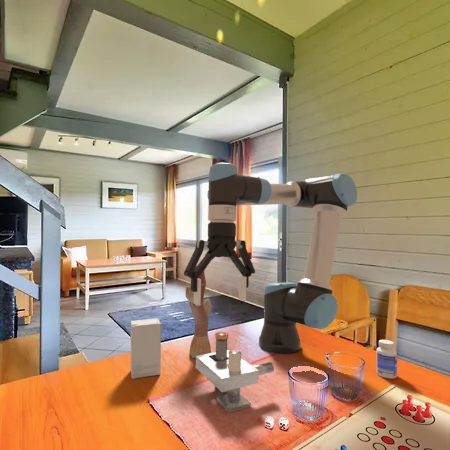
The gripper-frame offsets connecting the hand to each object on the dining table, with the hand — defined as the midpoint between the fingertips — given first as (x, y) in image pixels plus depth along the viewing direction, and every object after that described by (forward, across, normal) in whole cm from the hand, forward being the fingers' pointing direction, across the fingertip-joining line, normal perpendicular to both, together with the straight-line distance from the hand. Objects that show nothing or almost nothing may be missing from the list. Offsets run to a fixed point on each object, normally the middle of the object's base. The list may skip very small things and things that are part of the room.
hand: (220, 302), depth 82 cm
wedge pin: (+22, 0, 0) cm, 22 cm away
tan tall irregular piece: (+23, +4, +23) cm, 32 cm away
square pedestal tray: (+22, +3, -4) cm, 23 cm away
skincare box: (+22, -15, +17) cm, 32 cm away
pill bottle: (+23, +48, -15) cm, 55 cm away
